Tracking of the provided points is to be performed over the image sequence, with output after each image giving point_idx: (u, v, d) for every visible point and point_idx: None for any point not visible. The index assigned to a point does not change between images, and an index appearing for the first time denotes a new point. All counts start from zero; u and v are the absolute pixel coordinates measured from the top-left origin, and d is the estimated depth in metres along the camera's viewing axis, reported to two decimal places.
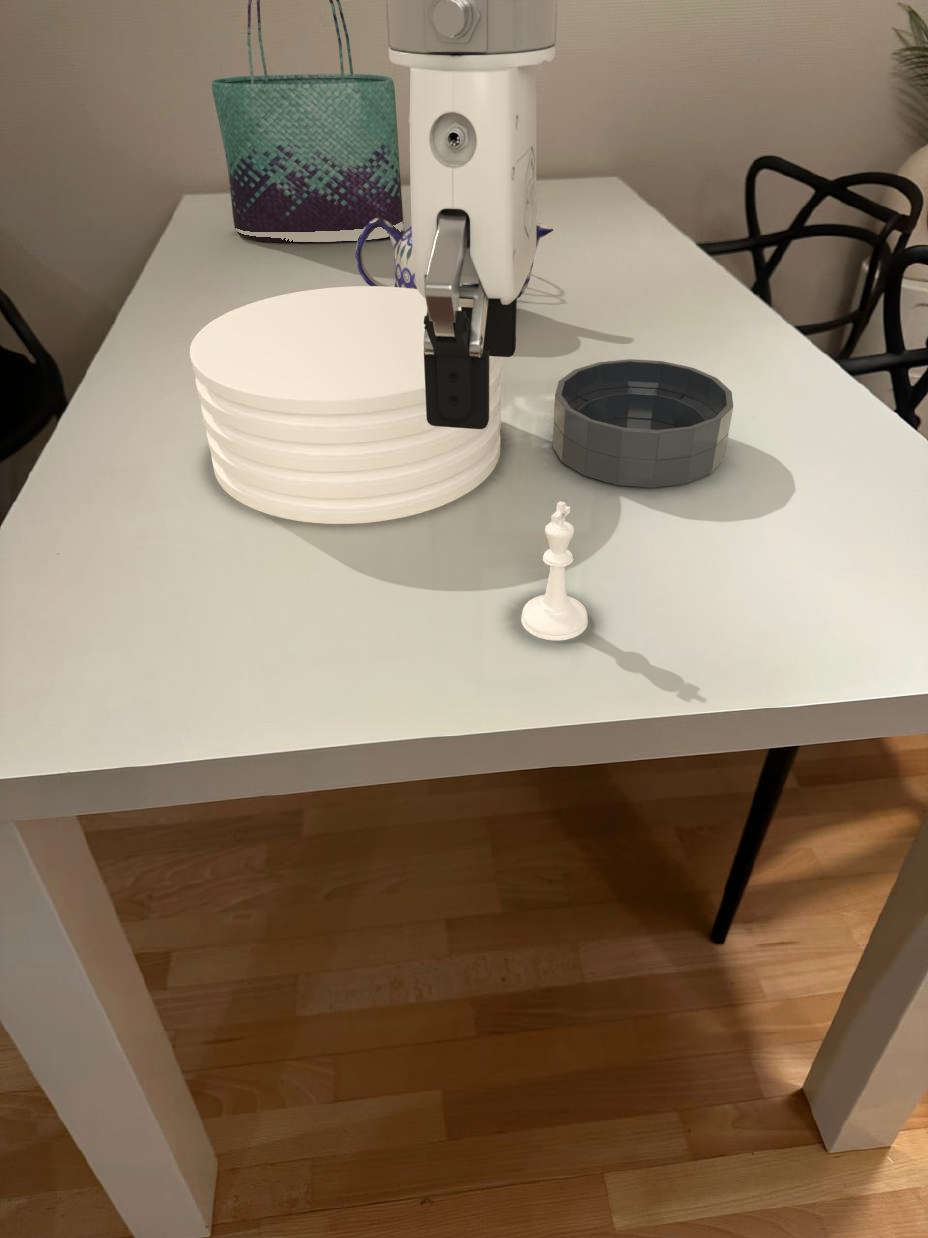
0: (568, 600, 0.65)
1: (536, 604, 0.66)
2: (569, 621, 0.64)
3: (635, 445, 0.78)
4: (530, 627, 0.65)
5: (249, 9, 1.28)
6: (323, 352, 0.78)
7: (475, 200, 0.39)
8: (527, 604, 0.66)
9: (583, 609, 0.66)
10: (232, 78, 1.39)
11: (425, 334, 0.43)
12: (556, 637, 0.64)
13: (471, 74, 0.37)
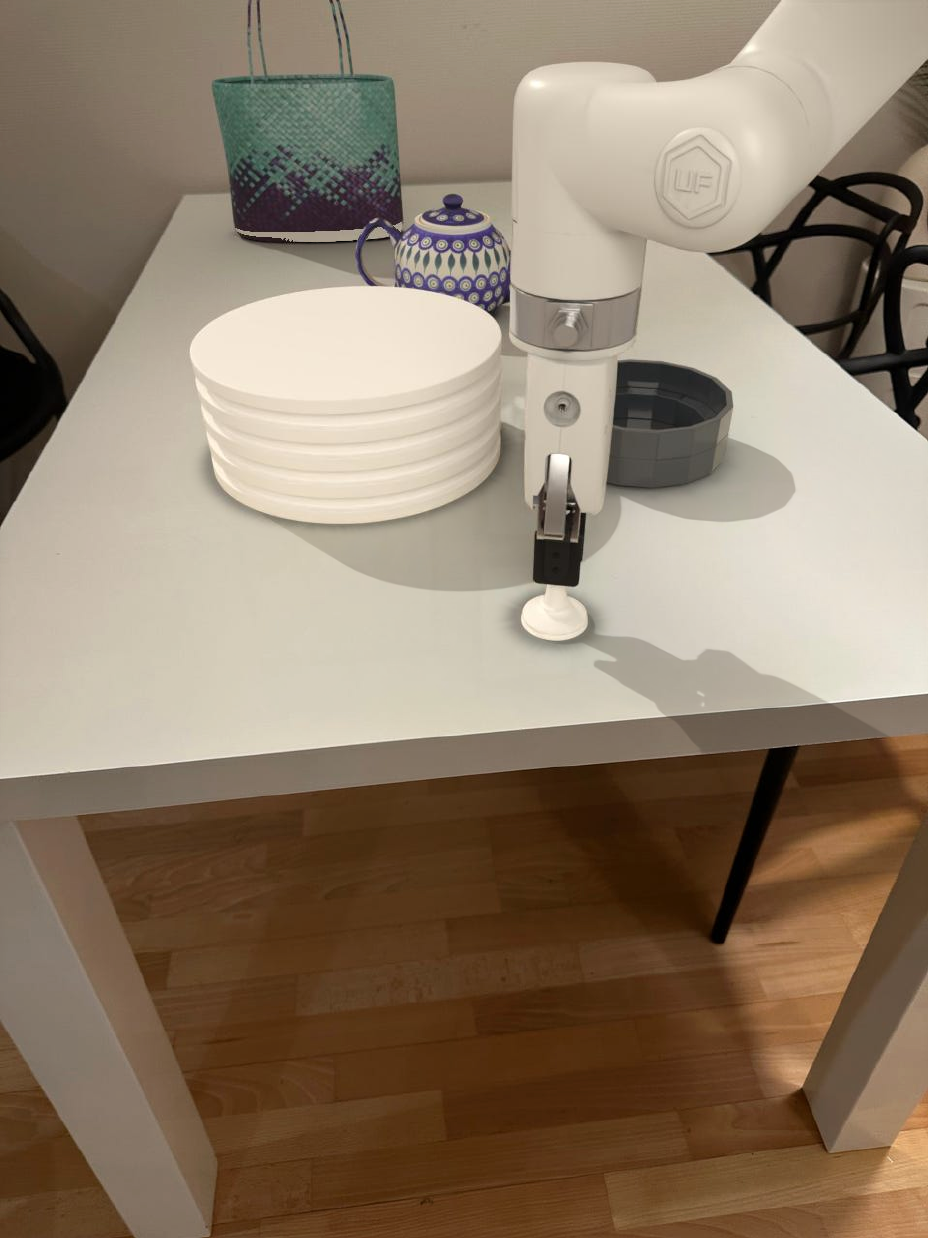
0: (568, 600, 0.65)
1: (536, 604, 0.66)
2: (569, 621, 0.64)
3: (635, 445, 0.78)
4: (530, 627, 0.65)
5: (249, 9, 1.28)
6: (323, 352, 0.78)
7: (576, 449, 0.52)
8: (527, 604, 0.66)
9: (583, 609, 0.66)
10: (232, 78, 1.39)
11: (537, 533, 0.59)
12: (556, 637, 0.64)
13: (579, 367, 0.50)
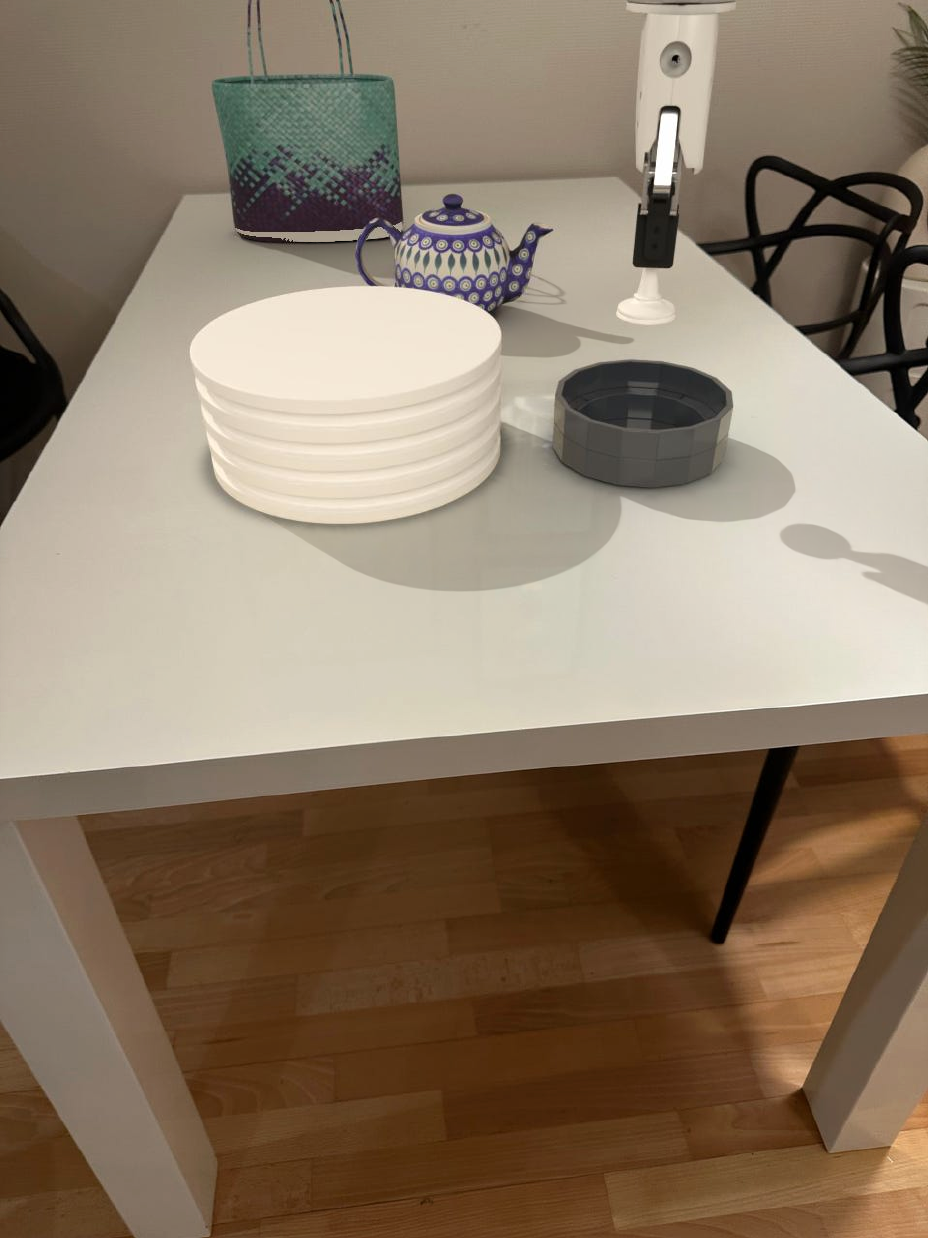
0: None
1: (630, 300, 0.75)
2: (661, 308, 0.74)
3: (635, 445, 0.78)
4: (626, 315, 0.74)
5: (249, 9, 1.28)
6: (323, 352, 0.78)
7: (686, 99, 0.61)
8: (621, 302, 0.76)
9: (671, 303, 0.75)
10: (232, 78, 1.39)
11: (641, 206, 0.68)
12: (650, 321, 0.73)
13: (692, 16, 0.59)
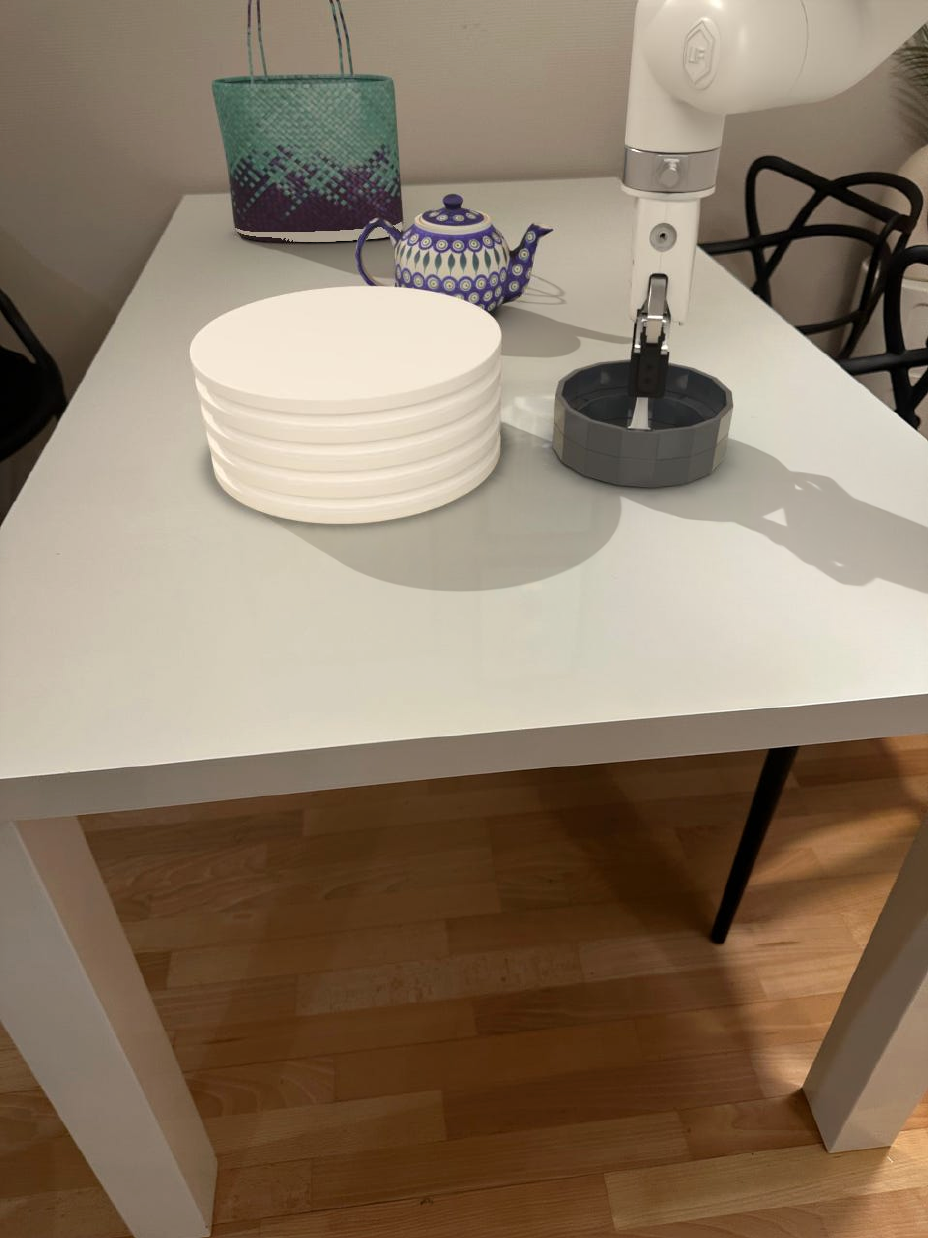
0: (648, 428, 0.86)
1: None
2: None
3: (635, 445, 0.78)
4: None
5: (249, 9, 1.28)
6: (323, 352, 0.78)
7: (672, 269, 0.71)
8: None
9: None
10: (232, 78, 1.39)
11: (635, 342, 0.75)
12: None
13: (677, 203, 0.69)
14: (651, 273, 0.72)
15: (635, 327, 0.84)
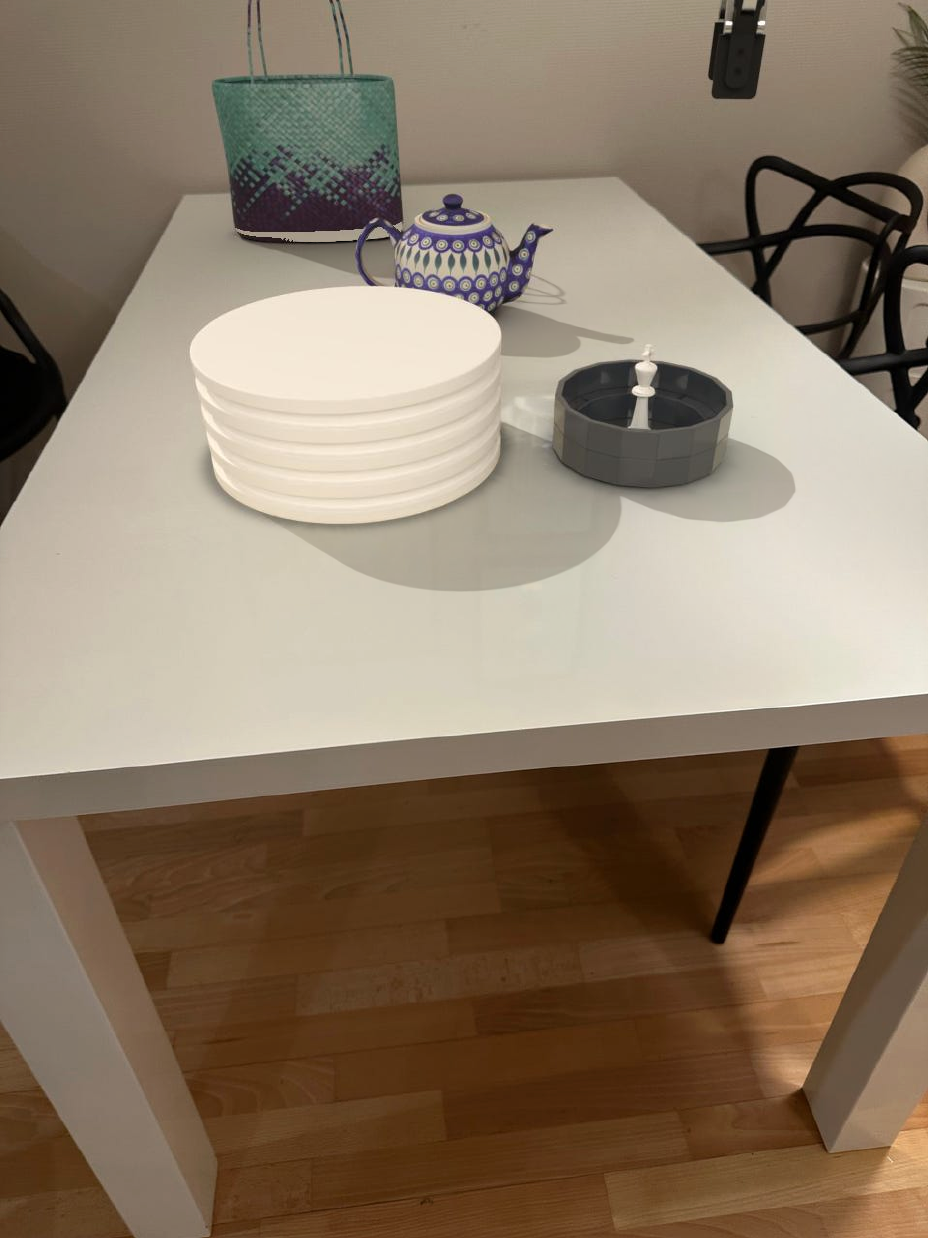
0: (648, 428, 0.86)
1: None
2: None
3: (635, 445, 0.78)
4: None
5: (249, 9, 1.28)
6: (323, 352, 0.78)
7: None
8: None
9: None
10: (232, 78, 1.39)
11: (727, 16, 0.63)
12: None
13: None
14: None
15: (714, 41, 0.72)
